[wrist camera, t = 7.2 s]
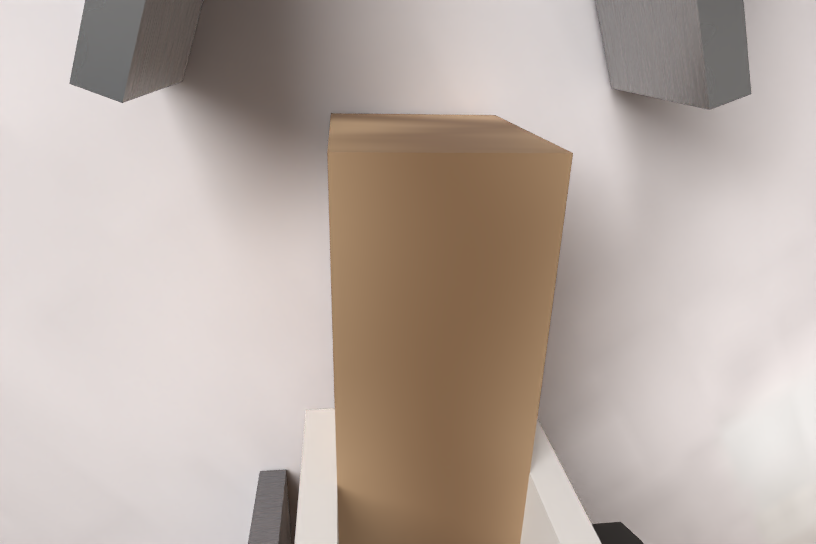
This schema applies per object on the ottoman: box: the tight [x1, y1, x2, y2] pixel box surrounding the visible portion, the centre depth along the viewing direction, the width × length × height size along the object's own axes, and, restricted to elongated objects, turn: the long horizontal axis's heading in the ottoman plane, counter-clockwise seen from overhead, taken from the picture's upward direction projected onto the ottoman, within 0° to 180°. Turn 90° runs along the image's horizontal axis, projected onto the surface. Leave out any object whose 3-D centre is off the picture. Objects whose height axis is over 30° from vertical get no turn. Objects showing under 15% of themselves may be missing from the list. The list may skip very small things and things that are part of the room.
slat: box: [327, 113, 573, 544], centre depth 14 cm, size 4×16×5 cm, turn 178°
